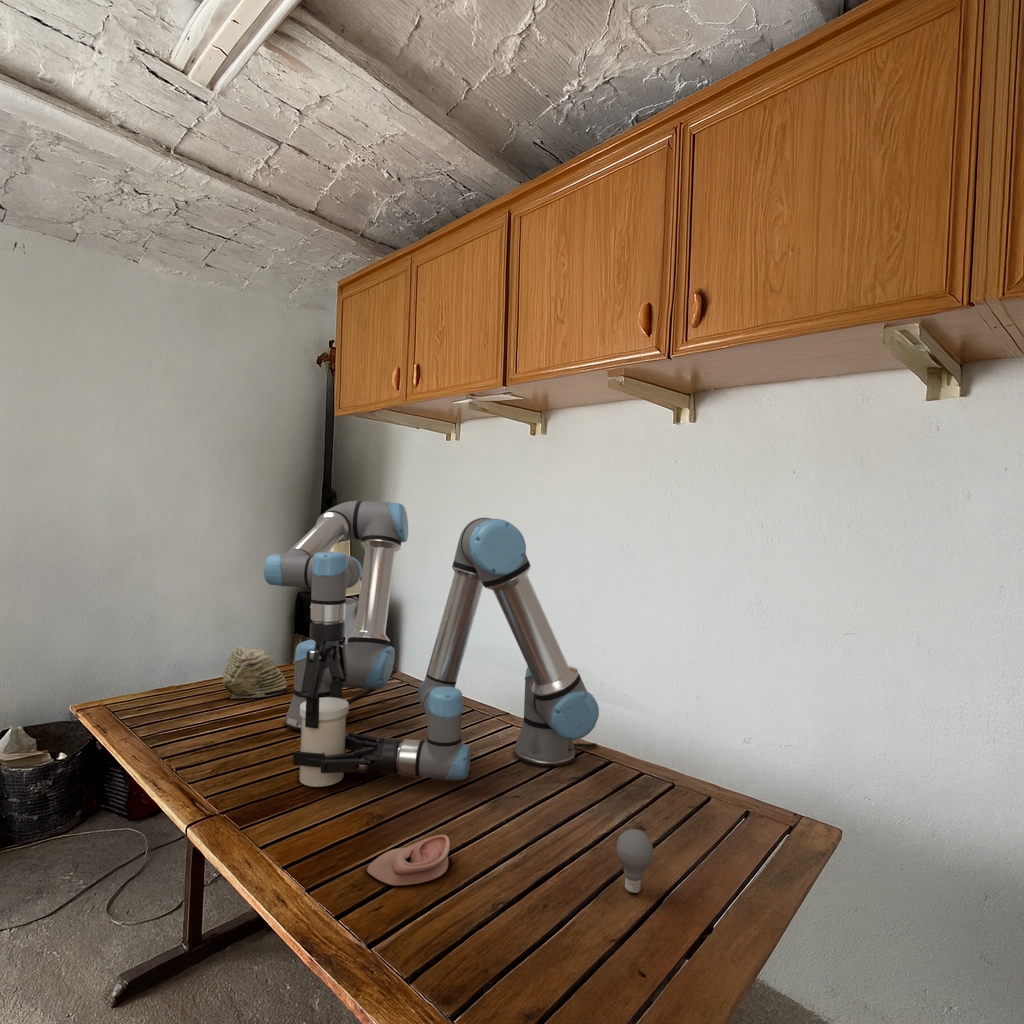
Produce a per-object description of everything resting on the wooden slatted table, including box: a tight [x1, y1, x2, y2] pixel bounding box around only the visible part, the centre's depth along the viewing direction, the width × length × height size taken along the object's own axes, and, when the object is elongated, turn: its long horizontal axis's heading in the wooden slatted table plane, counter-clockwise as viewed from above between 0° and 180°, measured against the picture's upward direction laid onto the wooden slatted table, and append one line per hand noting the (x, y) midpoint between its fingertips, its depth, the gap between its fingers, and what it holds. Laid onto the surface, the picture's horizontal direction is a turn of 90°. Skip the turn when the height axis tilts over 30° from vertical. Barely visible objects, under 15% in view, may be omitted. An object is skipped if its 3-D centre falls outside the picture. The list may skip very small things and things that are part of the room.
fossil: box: [222, 646, 288, 699], centre depth 198 cm, size 9×18×15 cm, turn 132°
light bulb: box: [615, 828, 654, 894], centre depth 106 cm, size 6×6×10 cm
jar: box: [298, 714, 347, 788], centre depth 143 cm, size 10×10×15 cm
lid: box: [300, 697, 350, 720], centre depth 143 cm, size 10×10×2 cm
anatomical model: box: [366, 834, 451, 886], centre depth 109 cm, size 13×4×12 cm
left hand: (324, 718), depth 143 cm, fingers closed on lid, 10 cm apart
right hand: (304, 748), depth 143 cm, fingers closed on jar, 10 cm apart
